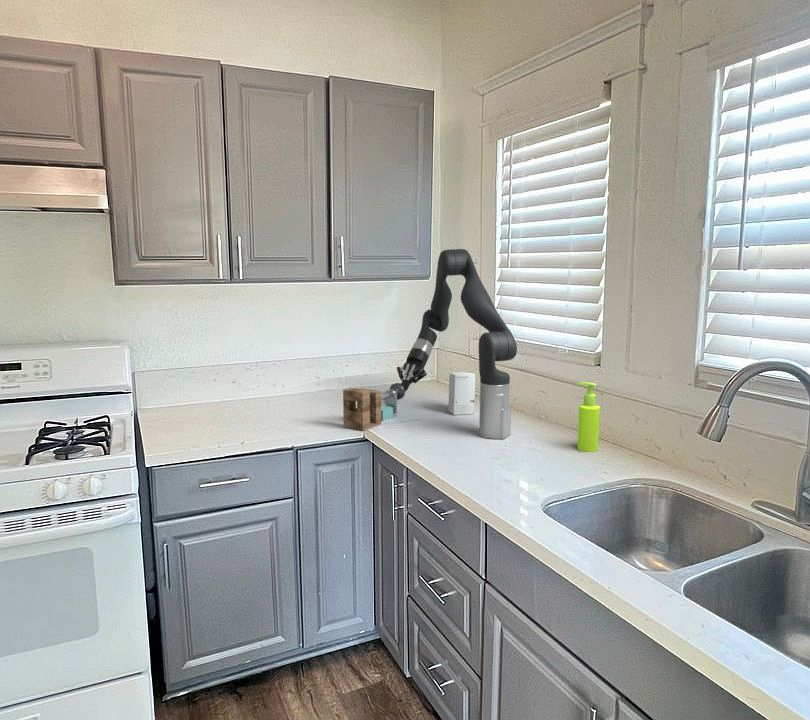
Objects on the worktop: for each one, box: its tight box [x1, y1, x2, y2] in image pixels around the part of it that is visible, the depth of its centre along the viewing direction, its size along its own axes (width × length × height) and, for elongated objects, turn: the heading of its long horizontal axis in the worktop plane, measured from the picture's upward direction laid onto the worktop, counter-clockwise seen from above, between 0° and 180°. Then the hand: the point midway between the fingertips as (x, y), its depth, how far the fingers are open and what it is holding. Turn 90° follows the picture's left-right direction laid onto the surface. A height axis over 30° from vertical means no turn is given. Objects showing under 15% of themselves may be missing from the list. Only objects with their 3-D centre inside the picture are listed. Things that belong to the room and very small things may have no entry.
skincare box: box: [447, 371, 476, 416], centre depth 222 cm, size 8×6×15 cm
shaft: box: [370, 382, 406, 415], centre depth 215 cm, size 6×21×10 cm, turn 147°
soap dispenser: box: [576, 381, 601, 453], centre depth 180 cm, size 6×7×20 cm
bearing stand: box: [342, 387, 382, 432], centre depth 205 cm, size 8×10×13 cm
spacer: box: [381, 404, 394, 422], centre depth 215 cm, size 5×6×4 cm
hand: (402, 390), depth 225 cm, fingers closed
